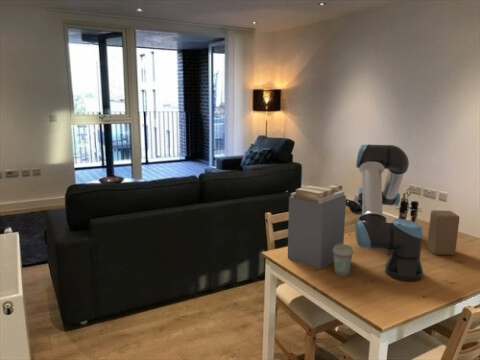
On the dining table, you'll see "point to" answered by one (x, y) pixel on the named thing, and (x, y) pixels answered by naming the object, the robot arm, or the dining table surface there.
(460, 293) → the dining table surface
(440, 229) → the wooden block
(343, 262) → the coffee cup
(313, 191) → the oak board
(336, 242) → the charcoal plinth
